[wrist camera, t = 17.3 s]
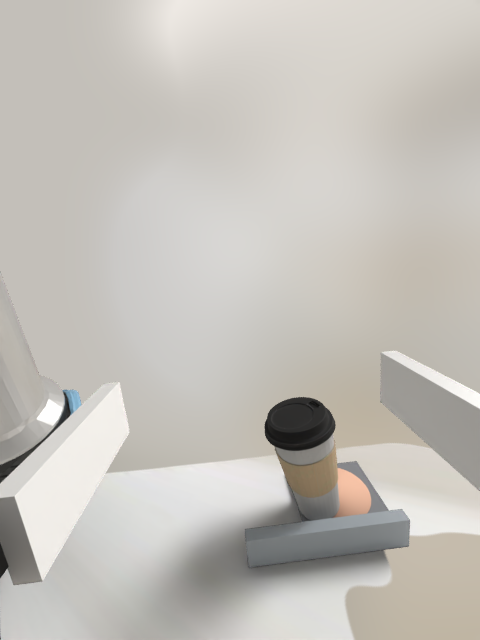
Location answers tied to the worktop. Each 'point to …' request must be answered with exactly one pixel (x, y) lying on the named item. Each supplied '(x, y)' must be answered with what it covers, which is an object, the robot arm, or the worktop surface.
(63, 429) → the robot arm
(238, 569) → the worktop surface
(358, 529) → the blue-grey rectangular bar
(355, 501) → the mat
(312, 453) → the coffee cup
